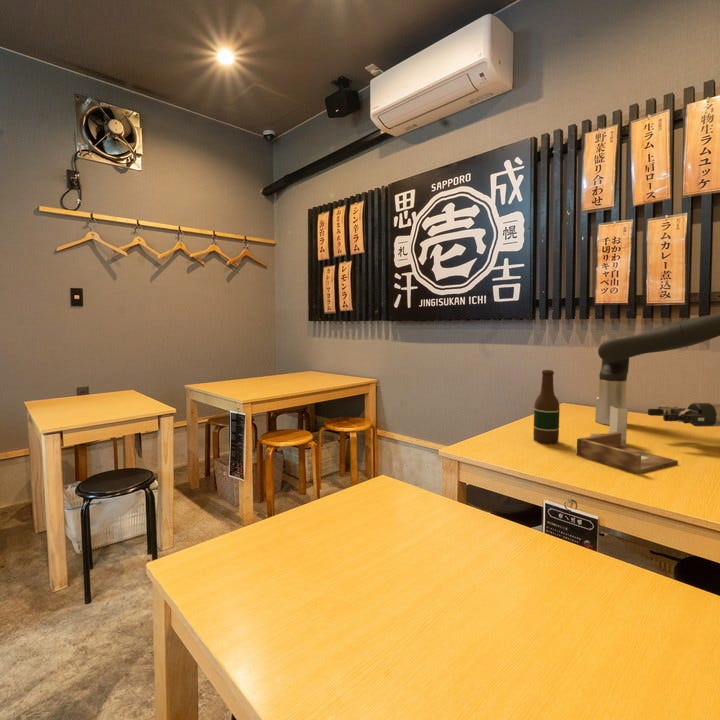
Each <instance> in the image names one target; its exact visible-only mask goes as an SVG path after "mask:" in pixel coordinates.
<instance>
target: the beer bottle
mask: <svg viewBox="0 0 720 720" xmlns="http://www.w3.org/2000/svg"><path fill="white" fill-rule="evenodd" d="M554 374H555V372H554V370H552V369H543V370H542V372H541V376H542V378H541V388H540V393H539V395H538V396H537V398H536V399H535V402H534V408H533V441H535V442H536V441H537V442H536V443H538V442H539V444H543V443H545V444H544V445H555V444H558V442H559V437H560V436H559V435H560V434H559V433H560V412H561V411H560V403H559V400H558V398H557V397H556V395H555V391H554V389H555V387H554Z"/></svg>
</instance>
